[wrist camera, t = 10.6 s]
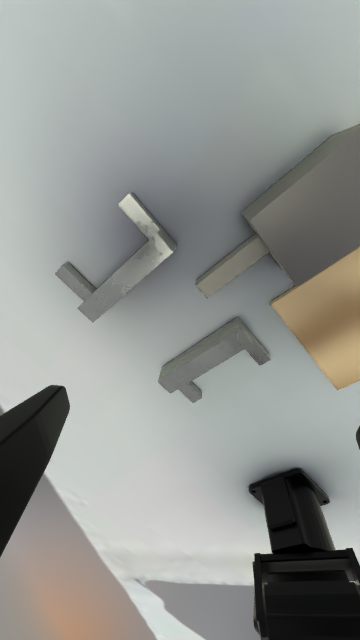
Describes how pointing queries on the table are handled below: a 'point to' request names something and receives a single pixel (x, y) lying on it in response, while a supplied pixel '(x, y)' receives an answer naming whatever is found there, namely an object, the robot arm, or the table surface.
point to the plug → (302, 216)
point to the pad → (328, 318)
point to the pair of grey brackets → (130, 274)
